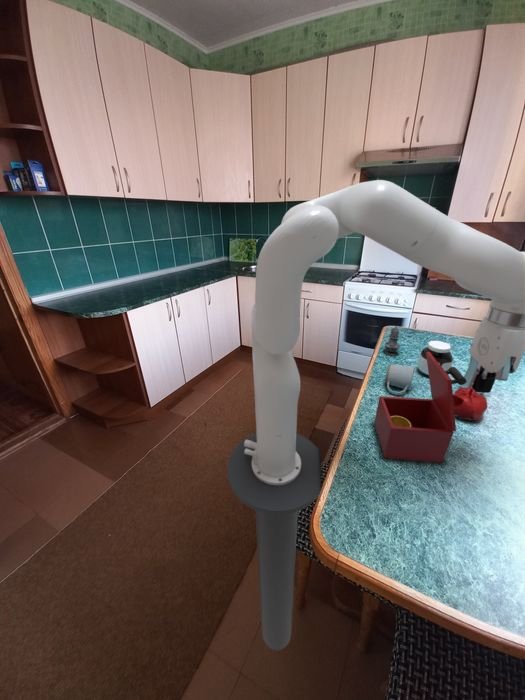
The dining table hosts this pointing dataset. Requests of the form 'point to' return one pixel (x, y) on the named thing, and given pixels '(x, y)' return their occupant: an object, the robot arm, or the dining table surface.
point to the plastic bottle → (471, 374)
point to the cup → (400, 421)
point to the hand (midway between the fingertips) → (480, 390)
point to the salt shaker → (392, 343)
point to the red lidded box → (412, 429)
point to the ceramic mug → (399, 377)
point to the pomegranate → (469, 404)
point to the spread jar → (436, 356)
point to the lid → (443, 388)
